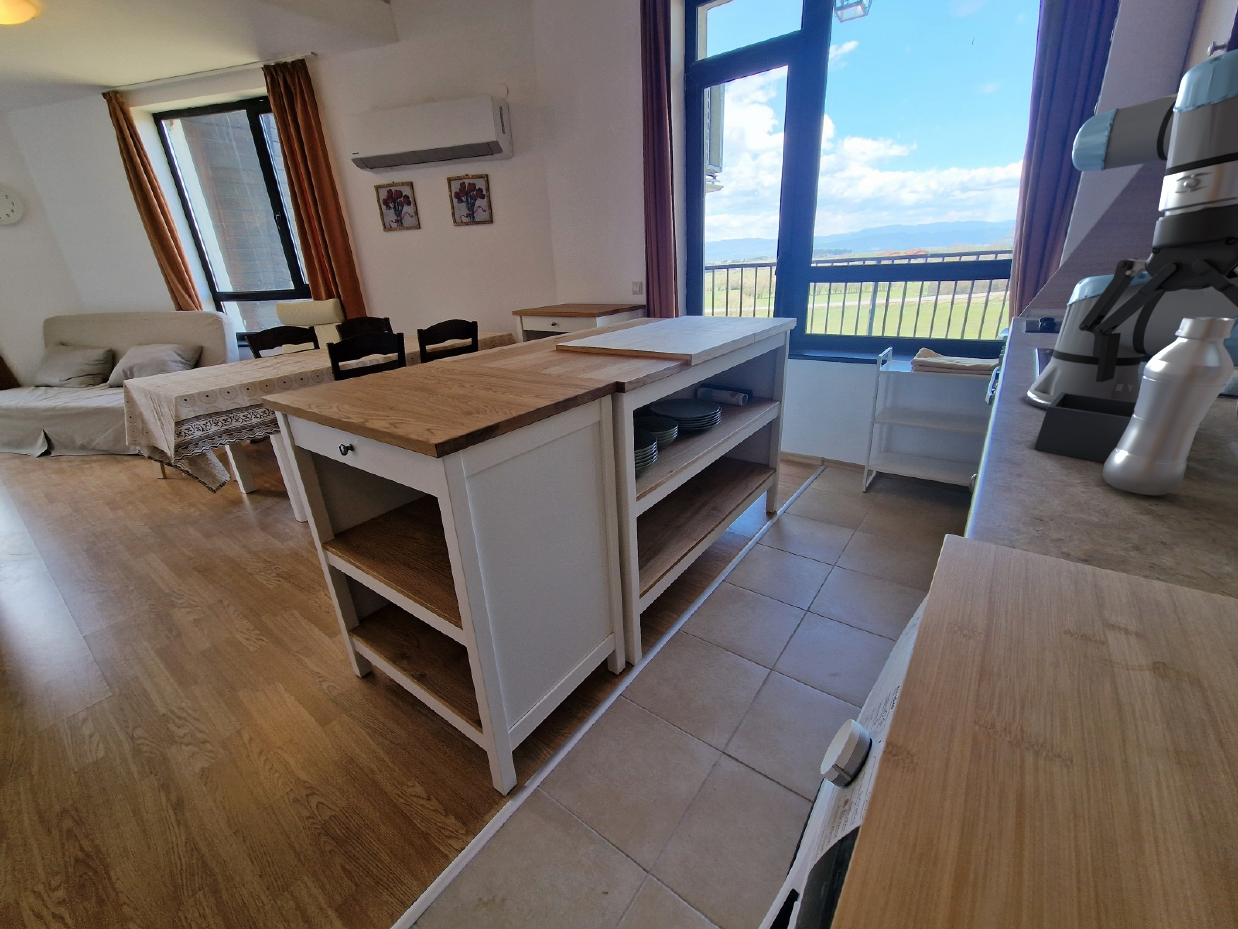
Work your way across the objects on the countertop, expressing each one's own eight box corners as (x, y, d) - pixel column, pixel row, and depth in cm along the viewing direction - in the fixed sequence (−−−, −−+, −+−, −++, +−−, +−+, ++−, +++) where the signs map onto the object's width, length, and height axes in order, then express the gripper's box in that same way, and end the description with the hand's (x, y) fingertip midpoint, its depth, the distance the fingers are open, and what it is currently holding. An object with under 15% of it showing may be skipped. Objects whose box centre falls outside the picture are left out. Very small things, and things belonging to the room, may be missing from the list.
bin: (1047, 431, 78) (1060, 391, 75) (1143, 447, 70) (1161, 404, 68) (1033, 449, 71) (1047, 406, 69) (1138, 469, 64) (1158, 422, 61)
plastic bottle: (1082, 479, 61) (1145, 316, 53) (1135, 478, 61) (1206, 314, 53) (1132, 503, 55) (1211, 323, 48) (1191, 501, 55) (1280, 321, 48)
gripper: (1060, 232, 68) (1042, 382, 74) (1375, 178, 45) (1311, 400, 52) (1093, 227, 70) (1073, 372, 76) (1409, 172, 47) (1344, 386, 54)
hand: (1169, 384), depth 64 cm, fingers open, 13 cm apart
